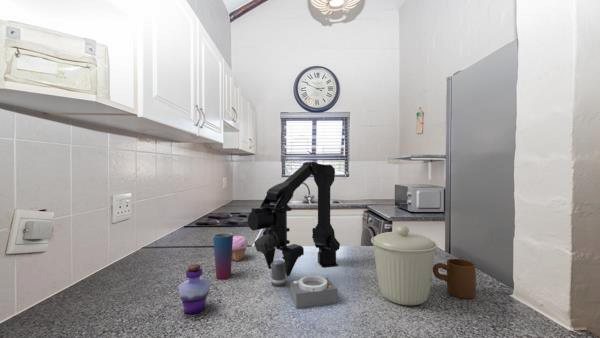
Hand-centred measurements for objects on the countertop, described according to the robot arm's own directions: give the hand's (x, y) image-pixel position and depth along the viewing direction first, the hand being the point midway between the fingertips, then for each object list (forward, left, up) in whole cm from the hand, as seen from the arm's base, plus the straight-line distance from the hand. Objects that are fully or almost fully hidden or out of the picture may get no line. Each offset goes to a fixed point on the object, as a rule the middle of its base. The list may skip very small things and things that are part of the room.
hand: (278, 272), depth 89 cm
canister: (-34, +19, -4) cm, 39 cm away
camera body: (-8, +13, -4) cm, 16 cm away
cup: (+18, -11, -4) cm, 22 cm away
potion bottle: (+25, +10, -4) cm, 27 cm away
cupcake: (+13, -29, -4) cm, 32 cm away
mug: (-50, +21, -4) cm, 54 cm away
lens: (0, 0, -4) cm, 4 cm away
